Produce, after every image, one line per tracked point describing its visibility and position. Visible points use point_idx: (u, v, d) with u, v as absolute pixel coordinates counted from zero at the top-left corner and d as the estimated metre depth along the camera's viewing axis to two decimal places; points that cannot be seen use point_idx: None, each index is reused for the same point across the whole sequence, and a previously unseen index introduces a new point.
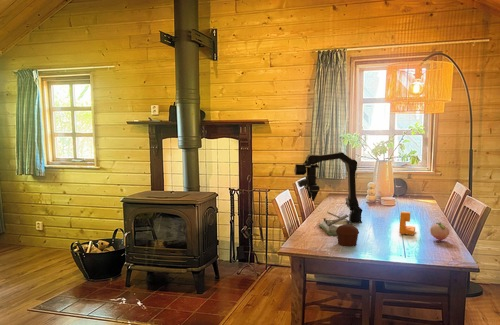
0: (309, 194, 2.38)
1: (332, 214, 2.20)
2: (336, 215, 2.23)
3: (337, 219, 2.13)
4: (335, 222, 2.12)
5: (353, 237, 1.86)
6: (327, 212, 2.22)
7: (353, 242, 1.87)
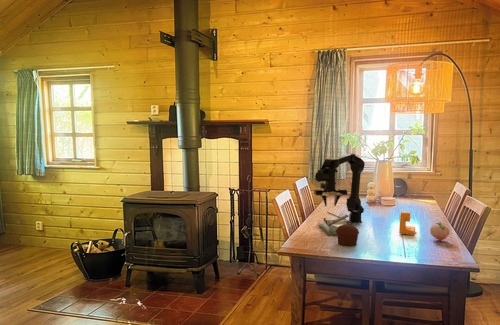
0: (334, 202, 2.21)
1: (332, 214, 2.20)
2: (336, 215, 2.23)
3: (337, 219, 2.13)
4: (335, 222, 2.12)
5: (353, 237, 1.86)
6: (327, 212, 2.22)
7: (353, 242, 1.87)
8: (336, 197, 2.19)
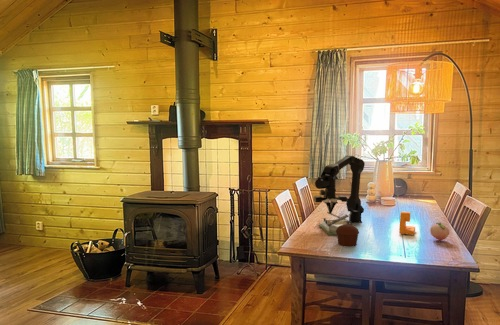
0: None
1: (332, 214, 2.20)
2: (336, 215, 2.23)
3: (337, 219, 2.13)
4: (335, 222, 2.12)
5: (353, 237, 1.86)
6: (327, 212, 2.22)
7: (353, 242, 1.87)
8: (332, 204, 2.19)
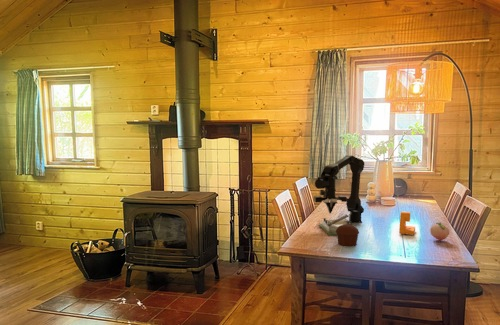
0: None
1: None
2: None
3: (337, 219, 2.13)
4: (335, 222, 2.12)
5: (353, 237, 1.86)
6: None
7: (353, 242, 1.87)
8: (332, 204, 2.19)
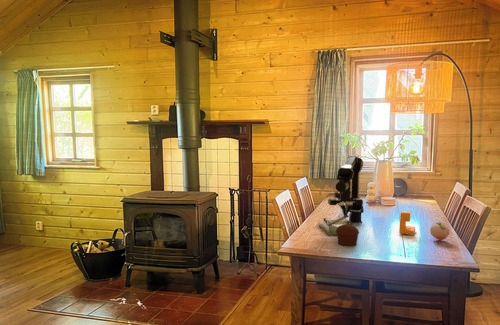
0: (345, 212, 2.13)
1: None
2: None
3: (337, 219, 2.14)
4: (335, 222, 2.12)
5: (353, 237, 1.86)
6: None
7: (353, 242, 1.87)
8: (347, 207, 2.11)
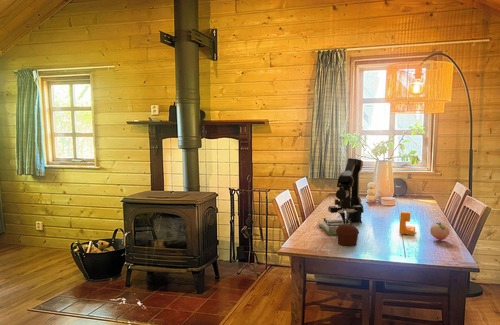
0: (346, 219, 2.13)
1: None
2: None
3: (338, 223, 2.14)
4: (335, 225, 2.12)
5: (353, 237, 1.86)
6: None
7: (353, 242, 1.87)
8: (348, 214, 2.11)
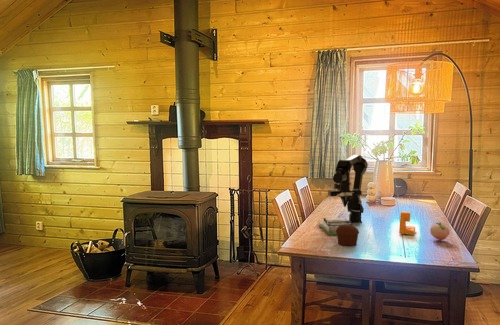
0: None
1: None
2: None
3: (338, 223, 2.14)
4: (335, 225, 2.12)
5: (353, 237, 1.86)
6: None
7: (353, 242, 1.87)
8: (346, 198, 2.20)
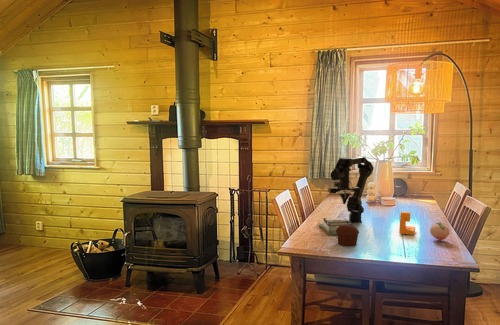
0: None
1: None
2: None
3: (338, 223, 2.14)
4: (335, 225, 2.12)
5: (353, 237, 1.86)
6: None
7: (353, 242, 1.87)
8: (346, 195, 2.25)
